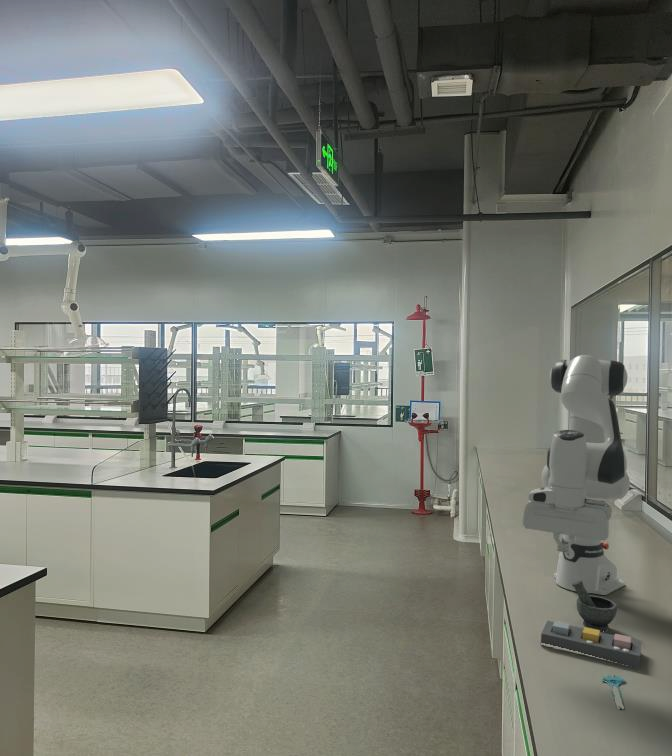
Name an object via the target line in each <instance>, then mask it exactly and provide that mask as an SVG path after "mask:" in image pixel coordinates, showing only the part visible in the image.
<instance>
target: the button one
mask: <svg viewBox="0 0 672 756" xmlns="http://www.w3.org/2000/svg"><path fill="white" fill-rule="evenodd" d="M583 628H584V629H583V634H582V639H585V640H589V641H594V642H598V643H599V639H600V630H596V629H592V628H587V627H584V626H583Z"/></svg>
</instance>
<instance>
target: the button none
mask: <svg viewBox="0 0 672 756" xmlns="http://www.w3.org/2000/svg"><path fill="white" fill-rule="evenodd" d="M553 622H554V624H553V629H552V632H554V633H558V634H563V635H567V636H568V635H569V632H570V626H571V624H570V623H569V622H568V623H567V622H563V621H559V620H554V621H553Z"/></svg>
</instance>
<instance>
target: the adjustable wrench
mask: <svg viewBox="0 0 672 756" xmlns="http://www.w3.org/2000/svg"><path fill="white" fill-rule="evenodd" d="M602 680H604V681H607V682H608V683H609V684H610V685H611V687H612V686H616V687H617V688H618V692H619V695H620V698H621V700H622V701H623V698H622V694H621V690H620V686H619V685H620V684H621V683H622V684H625V683H626V684H627V681H626V680H625V679H624V678H622V677H620V676H619V675H615V674H613V677H612V676H611V675H610V674H608V675H606V676H605V677H602V679H601V681H602ZM608 683H607V684H608ZM612 683H613V684H612ZM609 684H608V685H609ZM622 684H621V685H622ZM610 685H609V686H610ZM611 687H610V688H611ZM612 689H613V687H612ZM619 690H620V691H619ZM613 695H614V693H613ZM613 695H612V696H613ZM614 697H615V695H614Z"/></svg>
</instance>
